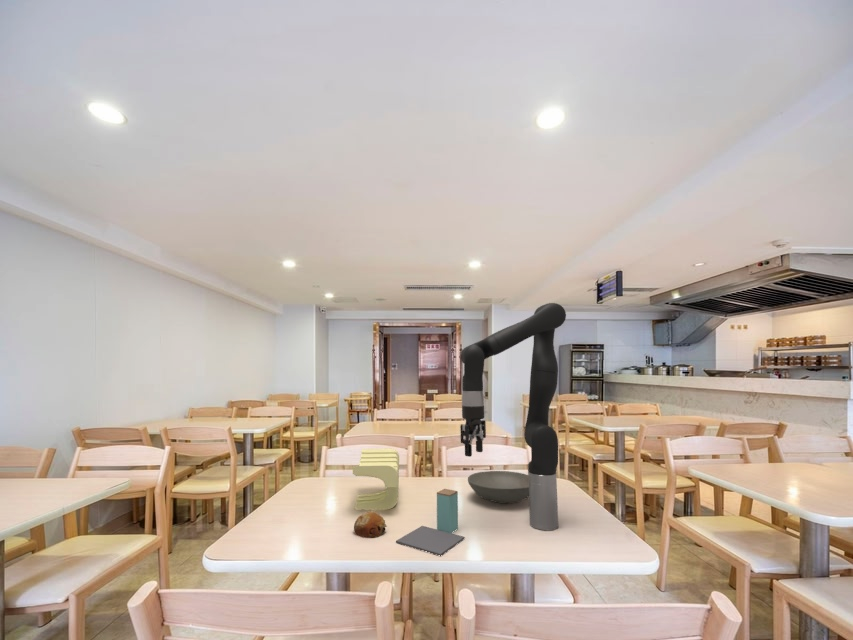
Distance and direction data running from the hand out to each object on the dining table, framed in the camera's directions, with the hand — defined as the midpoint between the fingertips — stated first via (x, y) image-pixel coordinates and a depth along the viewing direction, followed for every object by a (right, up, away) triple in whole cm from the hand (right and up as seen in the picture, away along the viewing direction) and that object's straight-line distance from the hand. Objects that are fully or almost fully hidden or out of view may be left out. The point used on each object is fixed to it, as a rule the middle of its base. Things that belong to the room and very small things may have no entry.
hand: (474, 453), depth 137 cm
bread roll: (-34, -24, -5) cm, 42 cm away
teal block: (-9, -24, -4) cm, 26 cm away
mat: (-15, -23, -12) cm, 29 cm away
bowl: (+15, -27, +26) cm, 40 cm away
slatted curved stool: (-35, -27, +22) cm, 49 cm away
